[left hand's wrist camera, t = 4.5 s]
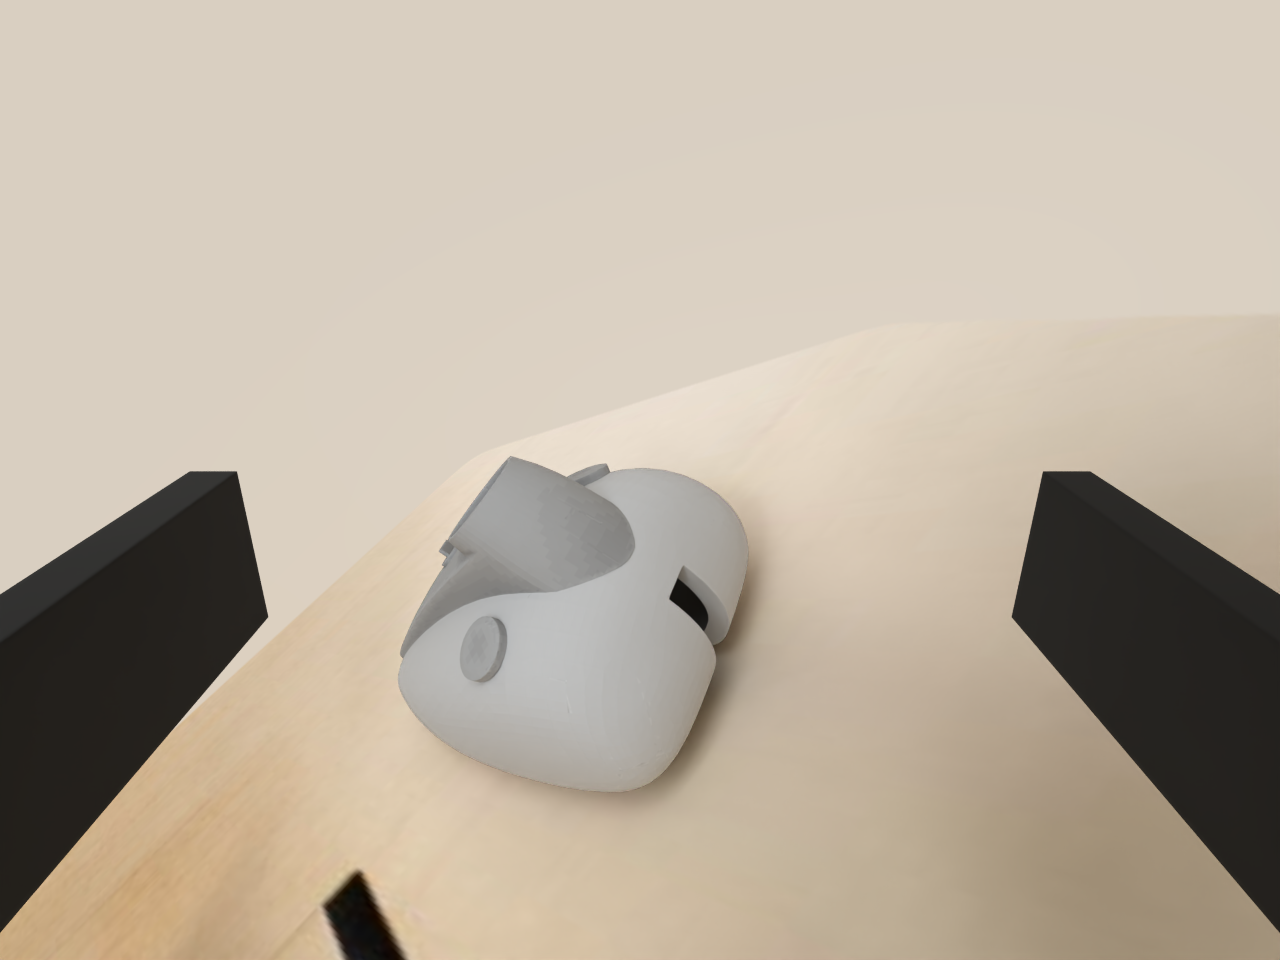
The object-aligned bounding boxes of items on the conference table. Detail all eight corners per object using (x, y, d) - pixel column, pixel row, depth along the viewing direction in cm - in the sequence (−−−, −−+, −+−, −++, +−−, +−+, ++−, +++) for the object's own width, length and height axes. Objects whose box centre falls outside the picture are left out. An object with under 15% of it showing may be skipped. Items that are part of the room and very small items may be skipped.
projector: (675, 474, 53) (564, 303, 46) (872, 667, 33) (734, 424, 26) (419, 663, 52) (262, 520, 44) (469, 979, 32) (202, 819, 25)
